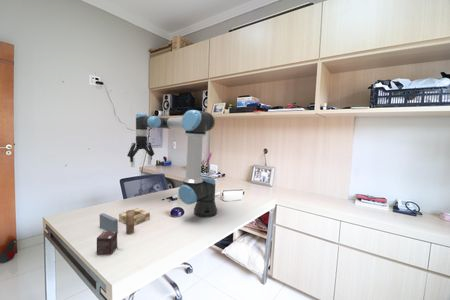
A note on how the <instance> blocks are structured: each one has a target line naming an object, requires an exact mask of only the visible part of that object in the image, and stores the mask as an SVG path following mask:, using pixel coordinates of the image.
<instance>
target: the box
mask: <svg viewBox="0 0 450 300" xmlns="http://www.w3.org/2000/svg"><path fill="white" fill-rule="evenodd" d="M117 248H118V233H117V231H112V232H111V231H106V230H104V231H102V232H101V233H100V234H98V236H97V237H96V255H98V256H99V255H102V256H103V255H106V256H107V255H113V253H114V251H115V250H116V249H117Z"/></svg>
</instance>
